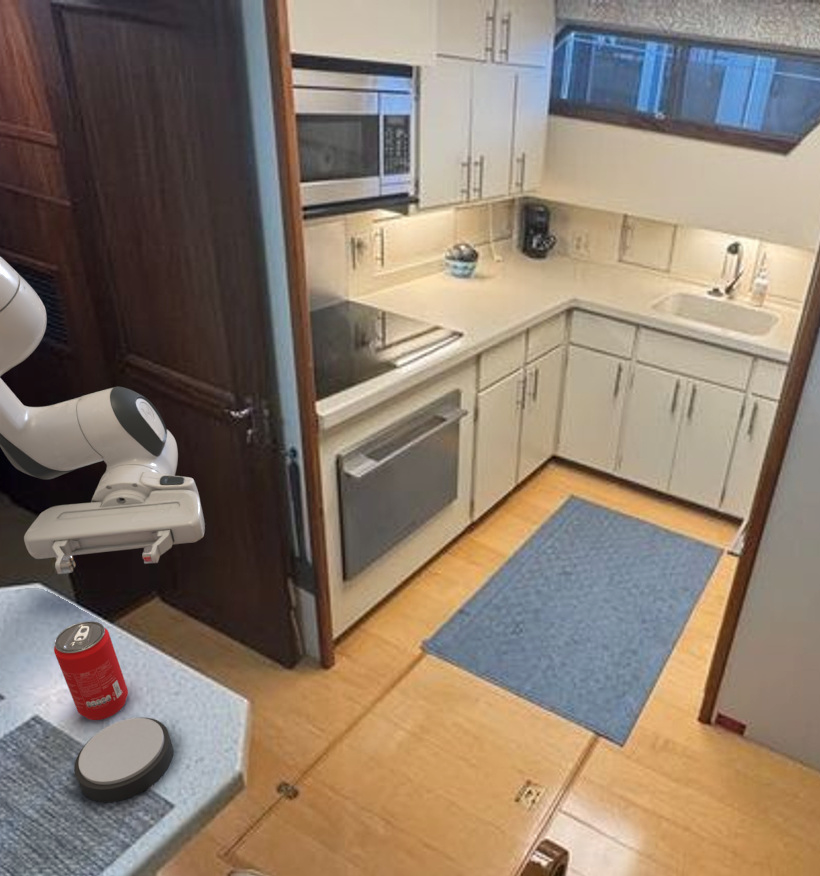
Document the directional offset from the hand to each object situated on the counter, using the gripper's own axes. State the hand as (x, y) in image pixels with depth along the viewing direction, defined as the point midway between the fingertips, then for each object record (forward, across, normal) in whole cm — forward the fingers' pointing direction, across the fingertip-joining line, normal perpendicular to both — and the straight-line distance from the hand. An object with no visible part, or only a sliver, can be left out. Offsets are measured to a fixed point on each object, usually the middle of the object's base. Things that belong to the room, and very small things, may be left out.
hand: (107, 564), depth 89 cm
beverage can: (+12, 0, +12) cm, 17 cm away
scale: (+22, +4, +12) cm, 25 cm away
